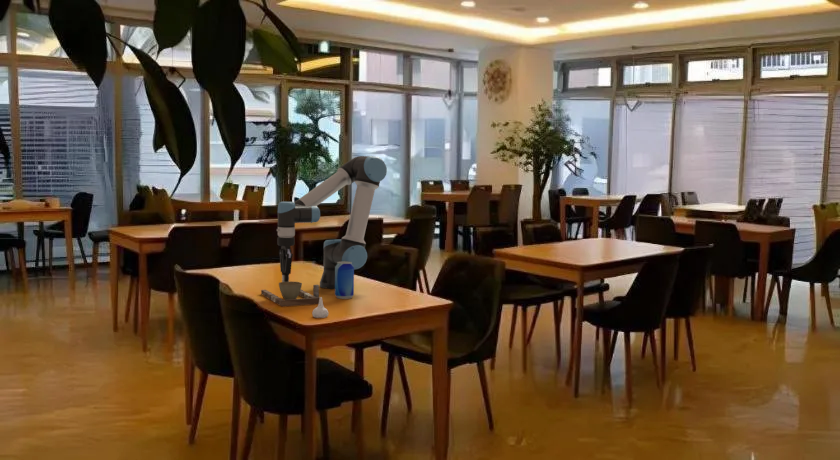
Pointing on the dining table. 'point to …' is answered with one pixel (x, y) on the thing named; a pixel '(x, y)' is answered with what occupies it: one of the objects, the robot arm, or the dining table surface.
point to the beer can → (344, 280)
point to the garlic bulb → (320, 310)
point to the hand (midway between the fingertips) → (285, 288)
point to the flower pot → (290, 289)
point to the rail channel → (294, 302)
